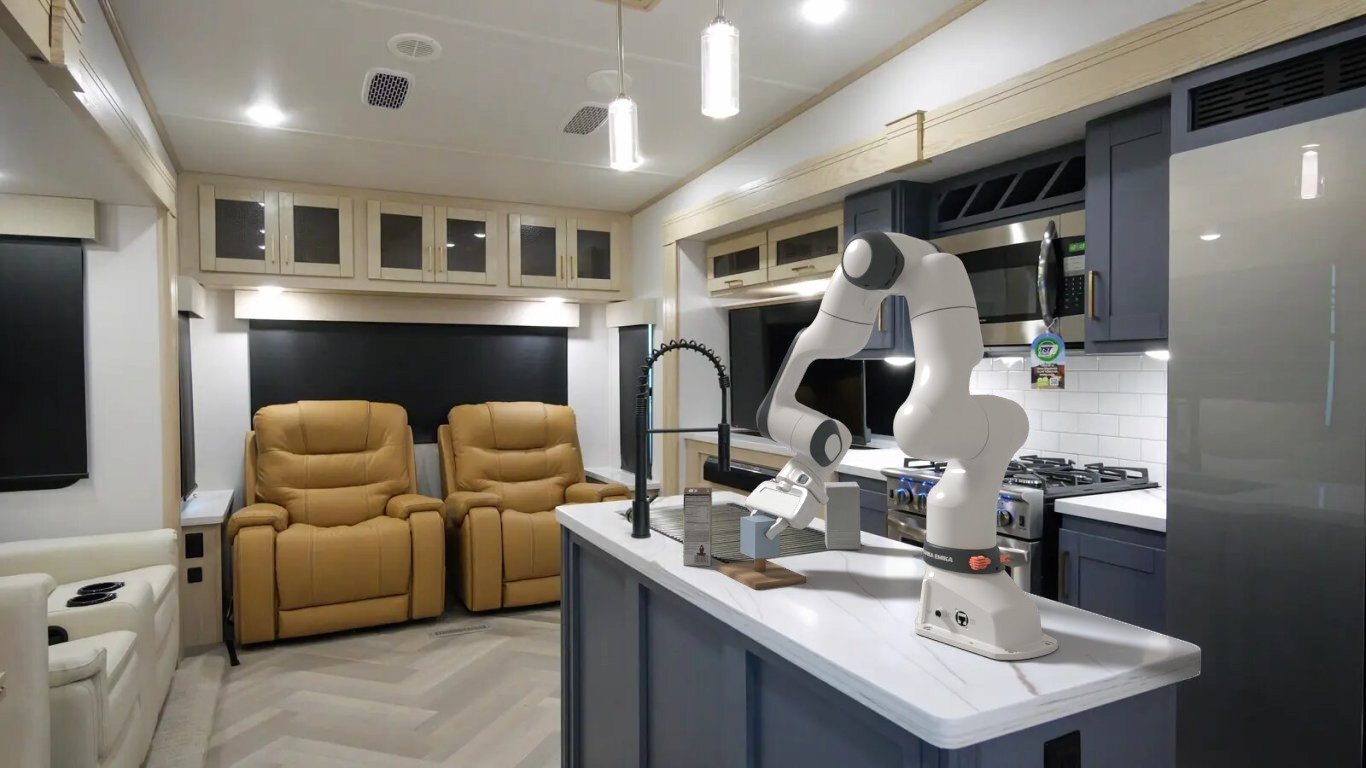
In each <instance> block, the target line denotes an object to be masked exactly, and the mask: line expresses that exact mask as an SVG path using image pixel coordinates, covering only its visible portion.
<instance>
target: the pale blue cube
mask: <svg viewBox="0 0 1366 768" xmlns="http://www.w3.org/2000/svg"><path fill="white" fill-rule="evenodd" d="M776 520H777V519H776V518H773V517H770V516H767V515H758V516H750V515H747V516H740V526H739V527H740V529H739V530H740V535H739V537H740V538H739V539H740V541H739V542H740V543H739V547H740V548H739V552H740V554H742V555H745V556H747V557H750V558H752V559H753V560H754V559H760V558H766V559H767V558H773V557H774V558H775V557H780V556H781V532H780V533H778V534H776V536H775V537H774V538H773V539H772V540H770V539H768V538H766V537H765V536H764V534H763V533H764V531H766V529H767V528H768V527H769V528H770V527H771V526H773V525H774V524H775V523H776Z"/></svg>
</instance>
